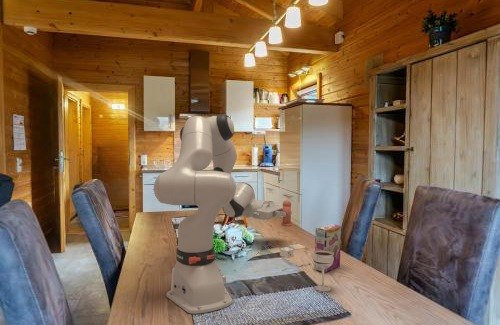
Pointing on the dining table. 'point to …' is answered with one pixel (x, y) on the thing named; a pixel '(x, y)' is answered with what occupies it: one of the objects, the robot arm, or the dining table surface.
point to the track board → (278, 249)
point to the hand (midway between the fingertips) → (288, 213)
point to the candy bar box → (329, 243)
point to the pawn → (287, 209)
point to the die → (286, 252)
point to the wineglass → (323, 264)
